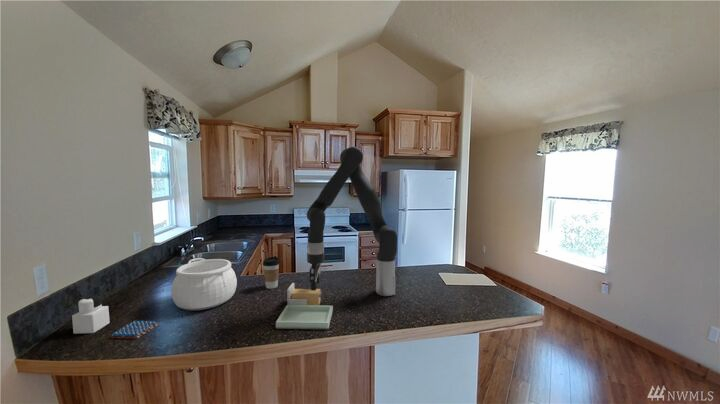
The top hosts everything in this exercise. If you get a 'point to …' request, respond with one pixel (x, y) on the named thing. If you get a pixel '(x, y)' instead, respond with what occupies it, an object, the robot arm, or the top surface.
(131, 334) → the woven mat
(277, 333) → the top surface
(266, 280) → the coffee cup
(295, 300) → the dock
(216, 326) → the top surface
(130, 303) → the top surface
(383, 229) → the robot arm
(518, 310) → the top surface
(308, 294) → the box with top handle
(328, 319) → the tray
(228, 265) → the pot
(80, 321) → the white knobbed block
